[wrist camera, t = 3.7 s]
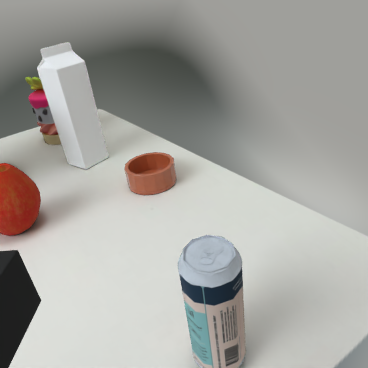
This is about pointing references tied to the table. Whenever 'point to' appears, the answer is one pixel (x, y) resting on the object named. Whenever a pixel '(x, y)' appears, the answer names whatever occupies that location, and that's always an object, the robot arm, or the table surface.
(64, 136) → the milk
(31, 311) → the robot arm
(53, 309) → the table surface
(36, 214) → the apple
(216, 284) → the beer can
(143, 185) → the holder
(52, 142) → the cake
